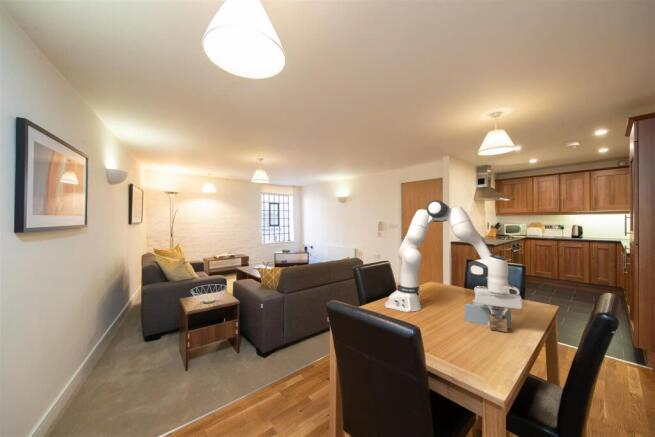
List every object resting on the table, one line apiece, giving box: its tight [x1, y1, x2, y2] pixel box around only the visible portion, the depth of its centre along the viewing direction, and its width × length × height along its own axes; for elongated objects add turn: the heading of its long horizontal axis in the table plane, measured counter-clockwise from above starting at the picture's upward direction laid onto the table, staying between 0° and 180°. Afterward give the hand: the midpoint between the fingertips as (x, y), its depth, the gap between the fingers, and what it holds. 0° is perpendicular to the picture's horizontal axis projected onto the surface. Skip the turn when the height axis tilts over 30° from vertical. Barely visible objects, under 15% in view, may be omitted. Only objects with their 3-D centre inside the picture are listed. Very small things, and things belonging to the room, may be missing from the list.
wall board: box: [464, 303, 512, 329], centre depth 136 cm, size 21×4×9 cm, turn 62°
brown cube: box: [489, 308, 508, 333], centre depth 130 cm, size 7×7×9 cm
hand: (497, 314), depth 130 cm, fingers closed on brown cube, 3 cm apart
